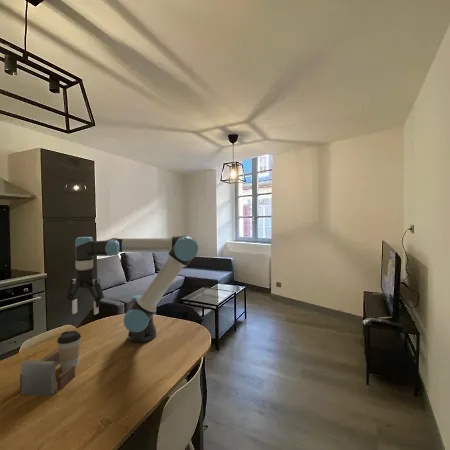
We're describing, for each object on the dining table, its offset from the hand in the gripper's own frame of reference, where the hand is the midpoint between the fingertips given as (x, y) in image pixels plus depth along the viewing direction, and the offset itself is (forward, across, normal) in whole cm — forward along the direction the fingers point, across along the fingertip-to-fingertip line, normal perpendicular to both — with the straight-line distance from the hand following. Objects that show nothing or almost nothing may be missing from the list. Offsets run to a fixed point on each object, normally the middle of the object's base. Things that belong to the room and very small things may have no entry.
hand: (85, 313), depth 123 cm
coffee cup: (+20, 0, +11) cm, 23 cm away
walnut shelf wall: (+20, +1, +18) cm, 26 cm away
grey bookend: (+20, 0, +28) cm, 35 cm away
